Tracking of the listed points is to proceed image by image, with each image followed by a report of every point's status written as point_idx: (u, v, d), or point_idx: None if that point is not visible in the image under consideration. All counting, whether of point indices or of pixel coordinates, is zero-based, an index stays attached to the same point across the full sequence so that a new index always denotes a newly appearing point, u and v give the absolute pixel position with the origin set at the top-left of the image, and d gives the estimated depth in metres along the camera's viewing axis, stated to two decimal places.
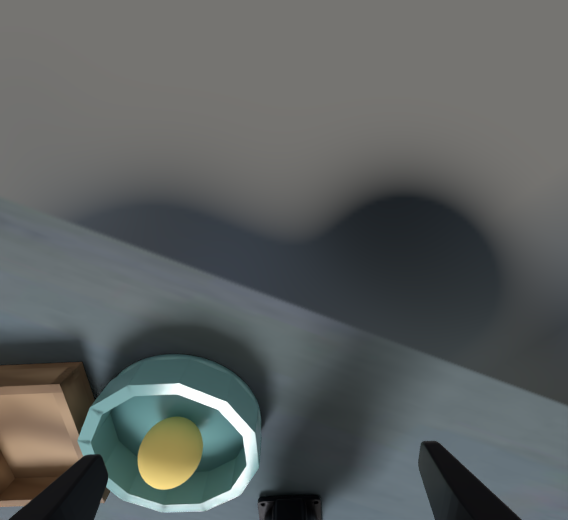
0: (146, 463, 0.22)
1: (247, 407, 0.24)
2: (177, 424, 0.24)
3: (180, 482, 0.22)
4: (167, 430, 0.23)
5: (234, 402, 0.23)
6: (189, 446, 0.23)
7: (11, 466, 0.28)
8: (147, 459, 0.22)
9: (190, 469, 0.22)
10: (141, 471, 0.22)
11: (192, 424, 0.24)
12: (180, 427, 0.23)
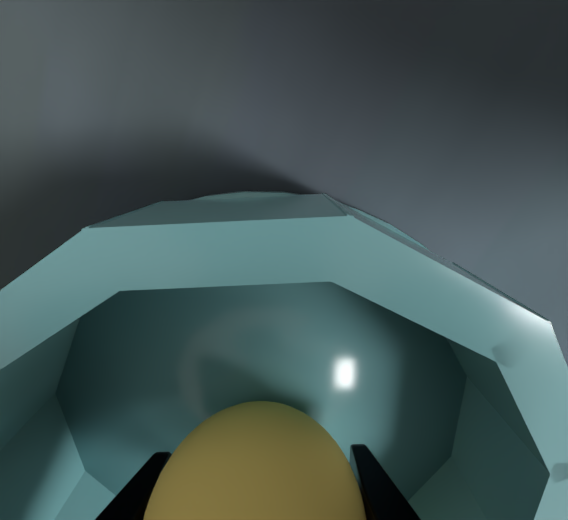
0: None
1: None
2: None
3: None
4: None
5: None
6: (170, 505, 0.05)
7: None
8: None
9: None
10: None
11: (196, 427, 0.07)
12: (156, 483, 0.07)
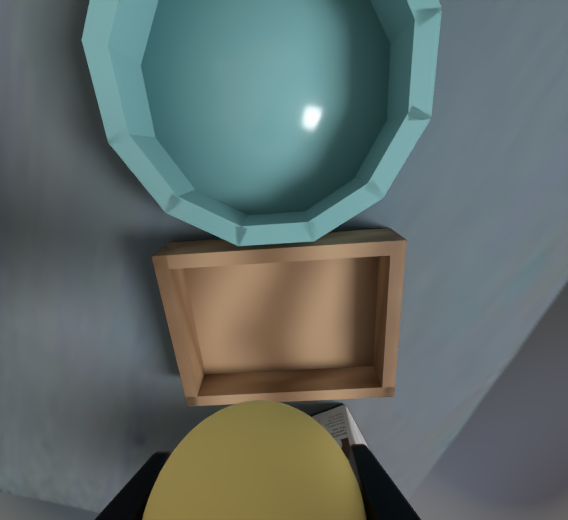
0: None
1: None
2: None
3: None
4: None
5: None
6: (169, 505, 0.05)
7: (349, 364, 0.20)
8: None
9: None
10: None
11: (196, 426, 0.07)
12: (155, 482, 0.07)
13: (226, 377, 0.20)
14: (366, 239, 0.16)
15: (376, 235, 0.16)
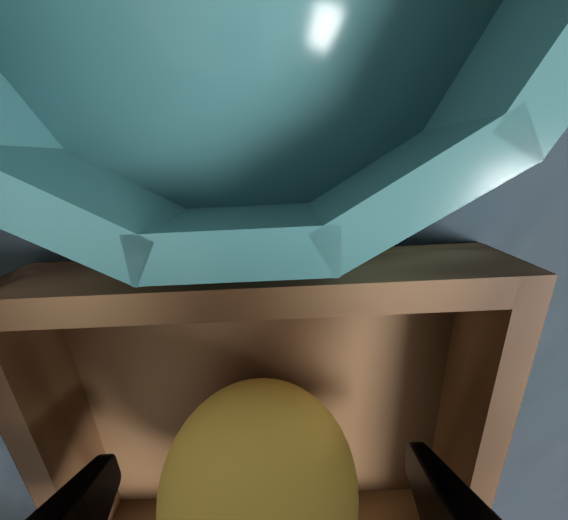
0: None
1: None
2: None
3: None
4: None
5: None
6: (185, 459, 0.06)
7: (383, 486, 0.11)
8: None
9: (254, 489, 0.06)
10: None
11: (205, 400, 0.08)
12: (170, 447, 0.07)
13: None
14: (452, 269, 0.07)
15: (467, 259, 0.07)
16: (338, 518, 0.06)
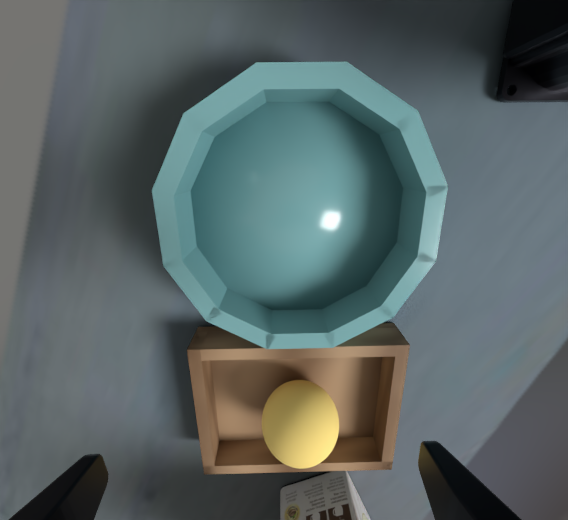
0: (282, 462, 0.17)
1: None
2: (264, 408, 0.19)
3: (317, 432, 0.17)
4: None
5: None
6: (278, 408, 0.17)
7: (352, 435, 0.23)
8: (278, 459, 0.17)
9: (305, 416, 0.17)
10: (295, 467, 0.17)
11: (276, 389, 0.19)
12: (264, 407, 0.19)
13: (239, 444, 0.22)
14: (375, 340, 0.18)
15: (383, 334, 0.19)
16: (332, 427, 0.17)
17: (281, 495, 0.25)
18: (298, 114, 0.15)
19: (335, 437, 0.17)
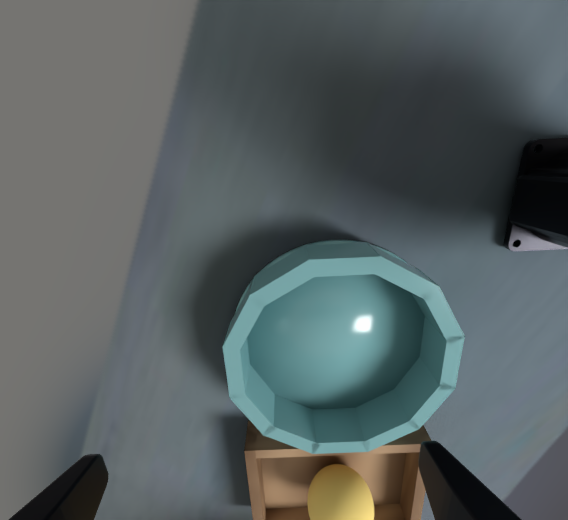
0: None
1: (286, 264, 0.17)
2: (308, 493, 0.22)
3: None
4: (308, 508, 0.22)
5: (263, 282, 0.16)
6: (323, 500, 0.21)
7: (381, 502, 0.26)
8: None
9: (347, 508, 0.20)
10: None
11: (318, 475, 0.23)
12: (310, 494, 0.22)
13: (283, 513, 0.26)
14: (402, 437, 0.21)
15: None
16: (369, 515, 0.20)
17: None
18: None
19: None
